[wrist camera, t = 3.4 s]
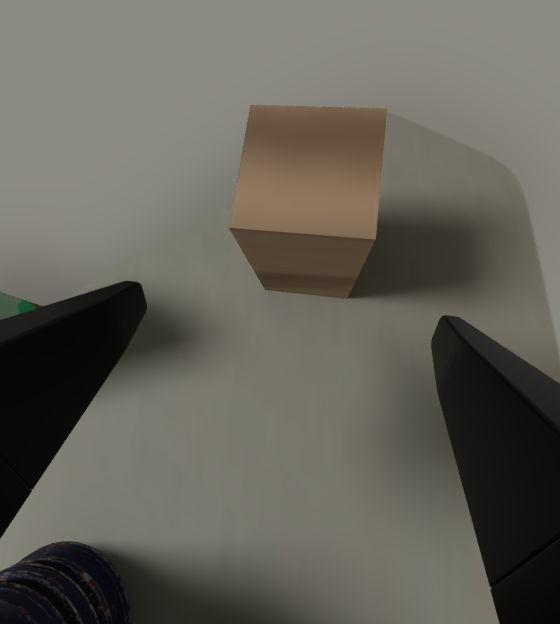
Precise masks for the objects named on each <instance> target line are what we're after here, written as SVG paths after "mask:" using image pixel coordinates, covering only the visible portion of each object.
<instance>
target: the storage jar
mask: <svg viewBox="0 0 560 624" xmlns="http://www.w3.org/2000/svg"><path fill="white" fill-rule="evenodd" d="M0 624H131V617H130V606H129V602H128V597H127V593H126V590H125V587H124V585H123V582H122V580H121V578H120V576H119V574H118V573H117V571H116V570H115V568H114V567H113V565H112V564H111V563H110V562H109V561H108V560H107V559H106V558H105V557H104V556H103V555H102V554H101V553H99V552H98V551H96V550H95V549H93V548H91V547H89V546H87V545H84V544H81V543H76V542H57V543H52V544H49V545H46V546H43V547H41V548H39V549H38V550H36V551H34V552H32V553H31V554H29V555H28V556H26V557H25V558H23V559H22V560H21V561H20V562H18V563H16V564H15V565H13V566H11V567H9V568H7V569H4V570H2V571H0Z"/></svg>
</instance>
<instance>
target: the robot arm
mask: <svg viewBox="0 0 560 624" xmlns="http://www.w3.org/2000/svg"><path fill="white" fill-rule="evenodd" d="M146 309H147V303H146V300H145V296H144V292H143V289H142V286H141V284H140V283H139V282H134V281H124V282H120V283H117V284H114V285H111V286H107V287H104V288H101V289H98V290H95V291H91V292H88V293H85V294H82V295H79V296H75V297H72V298H69V299H66V300H63V301H59V302H56V303H53V304H50V305H47V306H44V307H40V308H37V309H34V310H30V311H27V312H24V313H21V314H18V315H14V316H11V317H8V318H5V319H1V320H0V538H1V537H2V535H3V534H4V532H5V531H6V529H7V528H8V526H9V525H10V523H11V522H12V520H13V519H14V517H15V516H16V514H17V513H18V511H19V510H20V508H21V507H22V505H23V504H24V502H25V501H26V499H27V498H28V496H29V495H30V493H31V492H32V490H31V489H33V488H34V487H35V485H36V484H37V482H38V481H39V479H40V478H41V476H42V475H43V473H44V472H45V470H46V469H47V467H48V466H49V464H50V463H51V461H52V460H53V458H54V457H55V455H56V454H57V452H58V451H59V449H60V448H61V446H62V445H63V443H64V442H65V440H66V439H67V437H68V436H69V434H70V433H71V431H72V430H73V428H74V427H75V425H76V424H77V422H78V421H79V419H80V418H81V416H82V415H83V413H84V412H85V410H86V409H87V407H88V406H89V404H90V403H91V401H92V400H93V398H94V397H95V395H96V394H97V392H98V391H99V389H100V388H101V386H102V385H103V383H104V382H105V380H106V379H107V377H108V376H109V374H110V373H111V371H112V370H113V369H114V367H115V366H116V364H117V363H118V361H119V360H120V358H121V357H122V355H123V353H124V352H125V350H126V349H127V347H128V345H129V343H130V341H131V339H132V337H133V336H134V334H135V332H136V330H137V328H138V326H139V324H140V322H141V320H142V318H143V316H144V314H145V312H146ZM431 349H432V356H433V364H434V371H435V378H436V386H437V392H438V396H439V400H440V404H441V408H442V411H443V415H444V419H445V423H446V426H447V430H448V434H449V437H450V441H451V445H452V448H453V452H454V456H455V460H456V463H457V467H458V471H459V474H460V478H461V482H462V485H463V489H464V493H465V497H466V500H467V504H468V508H469V511H470V515H471V519H472V522H473V526H474V530H475V534H476V537H477V541H478V545H479V548H480V552H481V556H482V559H483V563H484V567H485V571H486V574H487V578H488V582H489V585H490V587H491V594H492V597H493V601H494V605H495V609H496V612H497V616H498V620H499V623H500V624H560V383H558V382H556V381H555V380H553V379H552V378H550V377H549V376H547V375H546V374H544V373H543V372H541V371H540V370H538V369H537V368H535V367H534V366H532V365H531V364H529V363H528V362H526V361H525V360H523V359H522V358H520V357H519V356H517V355H516V354H514V353H513V352H511V351H510V350H508V349H507V348H505V347H503V346H502V345H500V344H499V343H497V342H496V341H494V340H493V339H491V338H490V337H488V336H487V335H485V334H484V333H482V332H481V331H479V330H478V329H476V328H475V327H473V326H472V325H470V324H469V323H467V322H466V321H464V320H463V319H461V318H459V317H456V316H447V315H444V316H442V317H441V318H440V320H439V322H438V325H437V327H436V330H435V332H434V335H433V337H432V341H431Z"/></svg>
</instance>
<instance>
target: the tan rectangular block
mask: <svg viewBox="0 0 560 624" xmlns="http://www.w3.org/2000/svg"><path fill="white" fill-rule="evenodd" d="M386 113H387V109H381V108H343V107H305V106H266V105H251V106H250V112H249V117H248V123H247V128H246V134H245V140H244V145H243V151H242V156H241V162H240V168H239V173H238V179H237V185H236V191H235V196H234V202H233V207H232V213H231V219H230V224H229V229H230V230H231V232H232V234H233V236H234V237H235V239H236V241H237V242H238V244H239V246H240V248H241V249H242V251H243V253H244V254H245V256H246V258H247V260H248V261H249V263H250V265H251V266H252V268H253V270H254V271H255V273H256V275H257V277H258V278H259V280H260V282H261V283H262V285H263V287H264V289H265V290H271V291H281V292H290V293H300V294H309V295H319V296H328V297H337V298H347V299H348V296H349V294H350V292H351V290H352V288H353V286H354V284H355V282H356V280H357V278H358V276H359V274H360V271H361V269H362V267H363V265H364V263H365V261H366V259H367V257H368V255H369V253H370V251H371V248H372V246H373V244H374V242H375V240H376V231H377V220H378V208H379V196H380V184H381V172H382V161H383V149H384V137H385V125H386Z"/></svg>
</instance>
